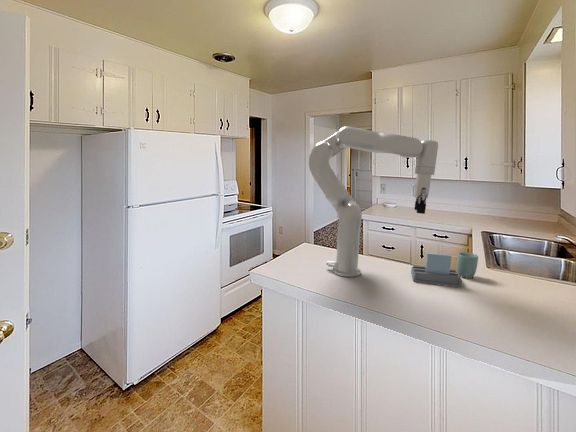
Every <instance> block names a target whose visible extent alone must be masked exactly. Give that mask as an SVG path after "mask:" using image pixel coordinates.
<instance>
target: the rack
mask: <svg viewBox="0 0 576 432" xmlns="http://www.w3.org/2000/svg"><path fill="white" fill-rule="evenodd" d="M425 267H426V265H425V266H423V265H414V264H413V265H412V266H411V267H410V269H411V270H410V271H411V272H410V275H411V274H412V275H411V277H412V282H413V283H419V282H422V283H421V284H427V283H431V284H430V285H435V284H440V285H439V286H444V285H448V286H447V287H452V286H455V287H454V288H460V287H461V288H462V285H463V280H462V278H461V276H460V275H459V274H458V273H457V269H451V268H450V273H449V275H443V274H434V273H425Z"/></svg>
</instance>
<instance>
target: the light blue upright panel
mask: <svg viewBox="0 0 576 432" xmlns="http://www.w3.org/2000/svg"><path fill="white" fill-rule="evenodd" d="M451 263H452V255H451V254H445V253H434V252H426V261H425V273H434V274H443V275H449V273H450V269H451Z"/></svg>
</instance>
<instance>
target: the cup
mask: <svg viewBox="0 0 576 432" xmlns="http://www.w3.org/2000/svg"><path fill="white" fill-rule="evenodd" d="M478 264H479V255H478V254H475V253H471V252H464V251H462V252H461V251H460V252H458V253H457V258H456V273H458V275H459V276H460V277H462V278H465V279H471V278H474V276H475V275H476V272H477V269H478Z"/></svg>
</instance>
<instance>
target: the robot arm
mask: <svg viewBox="0 0 576 432" xmlns="http://www.w3.org/2000/svg"><path fill="white" fill-rule="evenodd" d="M346 149H352V150H359V151H363V152H368V153H376V154H378V153H380V154H392V155H397V156H399V157H402V158H406V159H407V158H409V159H410V158H416V162H415V167H414V175H416V178H415V182H414V183H415V184H414V191H413V197H414V198H415V201H414V202H415V203H414V207H413V208H414V210H415V211H416V214H423V215H425V214H426V208H427V199H428V198H429V193H430V187H431V179H432V176H435V174H436V173H435V171H436V166H437V165H436V164H437V156H438V150H439V142H438V141H437V140H431V139H430V140H429V139H427V140H425V139H424V140H420V139H418V138H416V137H412V136H407V135H400V134H394V133H386V132H383V131H382V132H381V131H376V130H375V131H374V130H371V129H364V128H359V127H353V126H347V125H345V126H342V127H341V128H339V130H337V131H336V132H334V134H332V135H331V136H329V137H327V138H326V139H324V140H323V141H318V142H316V144H314V146H313V148H312V150H311V152H310V155H309V157H308V167H309V171H310V174H311V175H312V177H313V179H314V180H315V182H316V183H317V185H318V187H319V189H320V190H321V192H322V193H323V194H324V195H325V199H327V201H328V202H329V203H330V204H331V205H332V208H333V209H334V211H335V212H337V215H338V223H337V224H338V225H337V236H336V237H337V242H336V243H337V244H336V245H337V246H336V260H334V261H331V260H326V264H325V265H326V266H328V267H331V268H332V269H331V270H332V272H333V274H335V275H337V276H340V277H346V278H355V277H358V276H360V275H361V273H362V271H361V269H360V268H359V255H360V254H359V251H360V235H361V233H360V232H361V226H362V225H361V224H362V219H363V217H362V215H363V214H362V213H363V212H362V210H361V207H360V206H359V205H358V204H357V202H356V201H355V200H354V199H353V197H352V195H351V194H350V192H349V191H348V189H347V188H346V186H345V185H344V184H343V183H342V182H341V181H340V179H339V178H338V176H337V175H336V173H335V171H334V170H333V168H332V167H331V165H330V159H332V158H334V157H335V156H337V155H339V154H341V152H343V151H345V150H346Z"/></svg>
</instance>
